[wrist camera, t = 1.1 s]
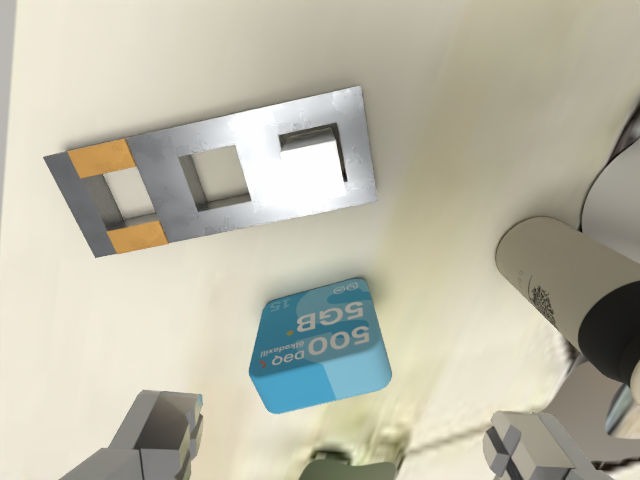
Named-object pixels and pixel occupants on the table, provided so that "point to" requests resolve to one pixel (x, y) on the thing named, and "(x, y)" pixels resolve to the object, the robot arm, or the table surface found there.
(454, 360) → the table surface
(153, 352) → the table surface
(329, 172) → the steel peg
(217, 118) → the hole rail
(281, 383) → the data package
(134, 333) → the table surface
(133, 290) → the table surface
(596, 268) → the travel mug
